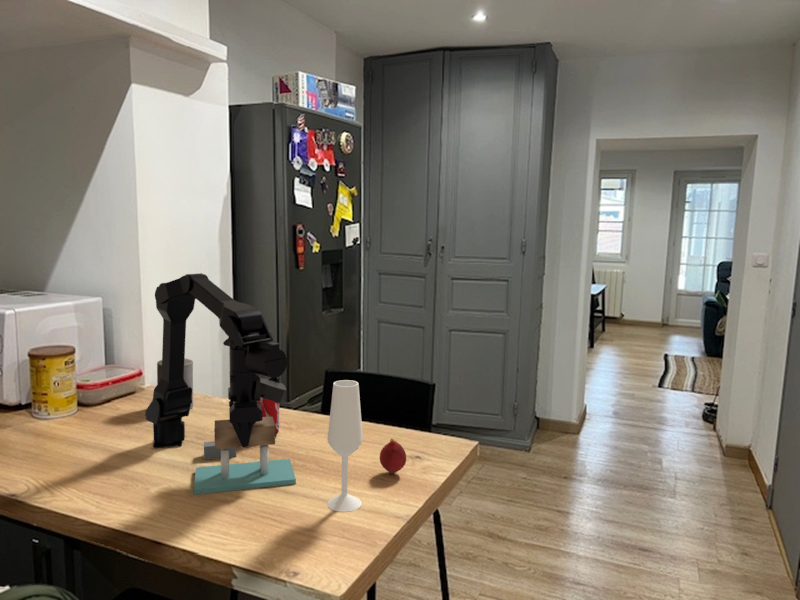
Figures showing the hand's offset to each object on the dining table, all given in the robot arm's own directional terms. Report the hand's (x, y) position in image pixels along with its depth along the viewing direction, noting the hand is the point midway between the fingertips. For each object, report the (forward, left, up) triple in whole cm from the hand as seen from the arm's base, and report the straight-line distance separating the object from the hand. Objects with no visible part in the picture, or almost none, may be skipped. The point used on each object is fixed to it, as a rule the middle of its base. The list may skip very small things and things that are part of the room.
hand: (244, 441), depth 123 cm
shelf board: (0, 0, 0) cm, 0 cm away
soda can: (+6, +24, -8) cm, 27 cm away
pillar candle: (-17, +52, -8) cm, 56 cm away
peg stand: (0, 0, -8) cm, 8 cm away
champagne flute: (+18, -17, -8) cm, 26 cm away
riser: (-5, +13, -8) cm, 16 cm away
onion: (+31, -6, -8) cm, 33 cm away
